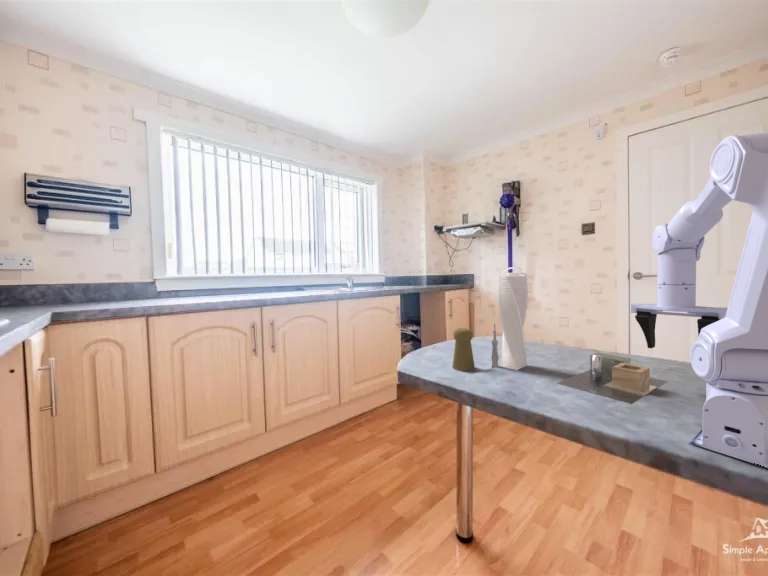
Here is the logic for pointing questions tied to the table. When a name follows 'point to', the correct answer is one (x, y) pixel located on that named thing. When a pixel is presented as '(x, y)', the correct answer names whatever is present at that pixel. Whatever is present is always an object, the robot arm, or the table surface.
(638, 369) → the wooden box
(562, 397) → the table surface
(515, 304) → the skyscraper
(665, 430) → the table surface
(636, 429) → the table surface
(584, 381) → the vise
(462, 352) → the cork
